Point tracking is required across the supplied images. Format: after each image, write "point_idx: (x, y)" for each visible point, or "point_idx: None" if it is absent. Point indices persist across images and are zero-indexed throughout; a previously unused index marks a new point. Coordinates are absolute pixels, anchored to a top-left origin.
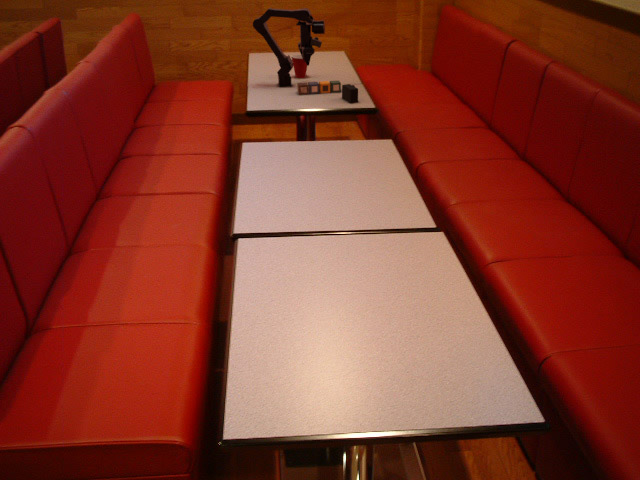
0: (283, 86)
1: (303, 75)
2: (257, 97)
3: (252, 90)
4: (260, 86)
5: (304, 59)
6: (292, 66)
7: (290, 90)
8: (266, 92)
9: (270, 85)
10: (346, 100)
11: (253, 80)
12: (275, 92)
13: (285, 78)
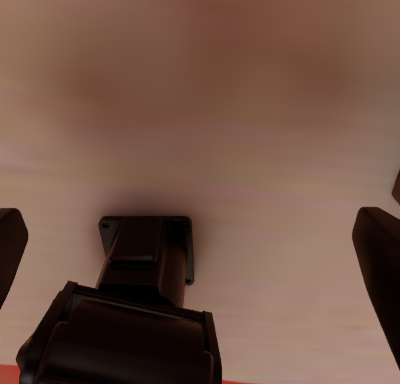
0: (193, 261)
1: None
2: (374, 376)
3: (226, 380)
4: None
5: (1, 266)
6: (131, 333)
7: (305, 231)
8: (293, 341)
9: None
10: None
11: (12, 363)
12: (315, 307)
13: (183, 293)
